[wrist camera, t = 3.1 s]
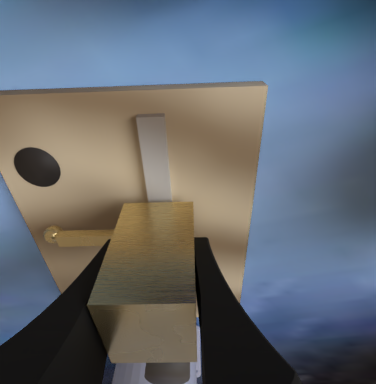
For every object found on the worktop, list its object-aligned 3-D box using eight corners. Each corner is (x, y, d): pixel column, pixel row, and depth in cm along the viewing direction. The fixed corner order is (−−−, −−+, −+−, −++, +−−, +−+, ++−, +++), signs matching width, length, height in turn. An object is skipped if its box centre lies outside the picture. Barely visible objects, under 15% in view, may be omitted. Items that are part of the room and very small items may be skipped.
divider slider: (194, 250, 15) (197, 361, 10) (59, 253, 16) (-3, 364, 11) (193, 195, 13) (195, 303, 8) (36, 199, 13) (-58, 307, 8)
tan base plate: (236, 304, 21) (250, 393, 16) (78, 307, 21) (44, 395, 16) (262, 81, 11) (319, 125, 6) (-21, 91, 12) (-178, 141, 7)
